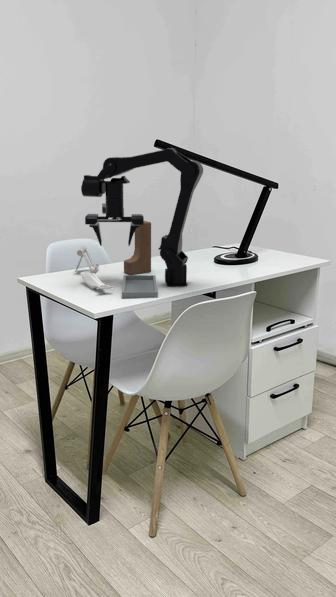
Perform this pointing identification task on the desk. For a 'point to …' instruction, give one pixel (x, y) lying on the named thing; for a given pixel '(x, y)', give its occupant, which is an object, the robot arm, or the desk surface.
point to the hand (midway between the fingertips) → (115, 245)
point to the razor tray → (139, 286)
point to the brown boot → (140, 251)
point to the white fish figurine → (93, 281)
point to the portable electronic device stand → (81, 253)
